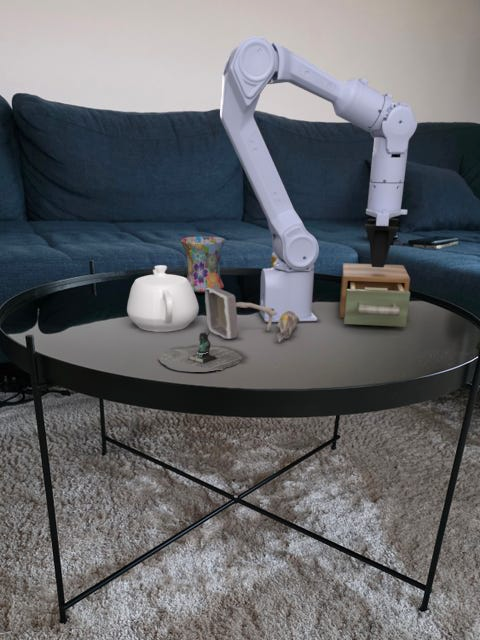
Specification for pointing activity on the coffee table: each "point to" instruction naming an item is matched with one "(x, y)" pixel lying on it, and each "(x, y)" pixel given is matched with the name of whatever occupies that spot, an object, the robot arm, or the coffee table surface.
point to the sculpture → (204, 355)
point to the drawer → (376, 304)
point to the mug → (203, 262)
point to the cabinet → (371, 277)
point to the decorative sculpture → (225, 315)
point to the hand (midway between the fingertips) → (378, 263)
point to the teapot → (162, 302)
